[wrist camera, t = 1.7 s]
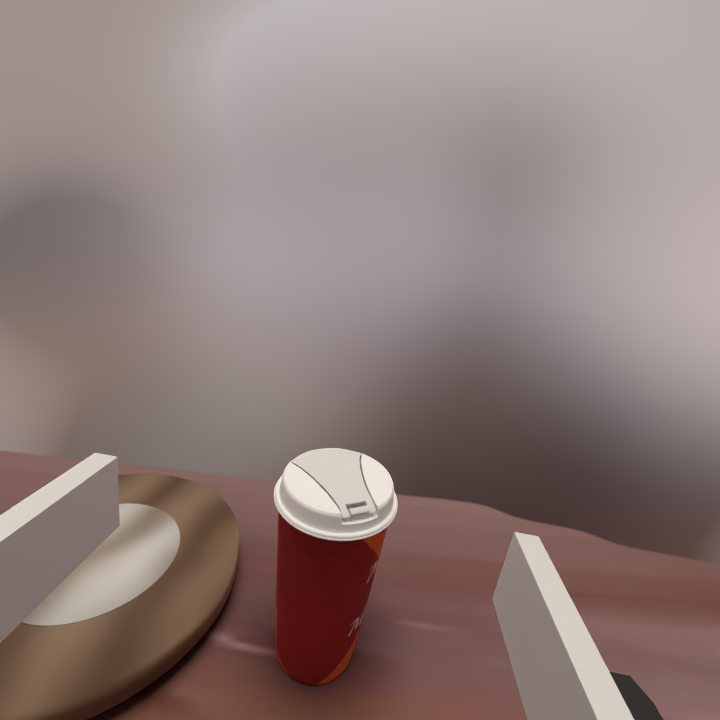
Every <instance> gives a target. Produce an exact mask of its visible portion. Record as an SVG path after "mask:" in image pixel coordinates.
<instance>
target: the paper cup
mask: <svg viewBox="0 0 720 720" xmlns="http://www.w3.org/2000/svg"><path fill="white" fill-rule="evenodd" d="M274 501H275V505H276V507H277V509H278V511H279V513H278V549H277V586H276V651H277V656H278V660H279V662H280V665H281V666H282V668H283V670H284V671H285V672H286V673H287V674H288V675H289V676H290V677H291V678H292V679H294V680H295V681H297V682H300V683H302V684H306V685H322V684H325V683H328V682H330V681H332V680H334V679H335V678H337V677H338V676H339V675H340V674H341V673H342V672H343V671H344V670H345V668H346V667H347V665H348V663H349V661H350V659H351V656H352V653H353V650H354V647H355V644H356V640H357V637H358V633H359V630H360V626H361V623H362V619H363V615H364V612H365V608H366V604H367V601H368V597H369V593H370V590H371V586H372V582H373V578H374V575H375V571H376V567H377V563H378V560H379V556H380V552H381V549H382V545H383V541H384V537H385V534H386V530H387V527H388V526H389V525H390V523H391V522H392V521H393V519H394V517H395V515H396V512H397V504H398V502H397V497H396V494H395V492H394V486H393V481H392V479H391V476H390V474H389V473H388V471H387V470H386V469H385V468H384V467H383V466H382V465H381V464H380V463H379V462H377V461H376V460H374V459H373V458H371V457H369V456H367V455H364V454H362V456H361V453H358V452H354V451H350V450H345V449H338V448H327V449H326V448H325V449H317V450H312V451H308V452H306V453H303V454H302V455H300V456H298V457H296V458H295V459H294V460H292V461H291V462H290V463H289V464H288V465H287V467H286V468H285V470H284V473H283V475H282V476H281V477H280V478H279V480H278V482H277V484H276V486H275V489H274Z"/></svg>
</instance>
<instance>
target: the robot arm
mask: <svg viewBox="0 0 720 720" xmlns="http://www.w3.org/2000/svg"><path fill="white" fill-rule="evenodd" d="M119 526H120V520H119V489H118V459H117V457H115V456H110V455H104V454H99V453H94V454H93V455H91V456H90V457H88V458H87V459H85V460H84V461H82V462H80V463H79V464H77V465H76V466H74V467H73V468H71V469H70V470H68V471H67V472H65V473H64V474H62V475H61V476H59V477H58V478H56V479H55V480H53V481H52V482H50V483H49V484H47V485H46V486H44V487H42V488H41V489H39V490H38V491H36V492H35V493H33V494H32V495H30V496H29V497H27V498H26V499H24V500H23V501H21V502H20V503H18V504H17V505H15V506H14V507H12V508H11V509H9V510H8V511H6V512H4V513H3V514H1V515H0V643H1V642H2V641H3V640H4V639H5V638H6V637H7V636H8V635H9V634H10V633H11V632H12V631H13V630H14V629H15V628H16V627H17V626H18V625H19V624H20V623H21V622H22V621H23V620H24V619H25V618H26V617H27V616H28V615H29V614H30V613H31V612H32V611H33V610H34V609H35V608H36V607H37V606H38V605H39V604H40V603H41V602H42V601H43V600H45V599H46V598H47V597H48V596H49V595H50V594H51V593H52V592H53V591H54V590H55V589H56V588H57V587H58V586H59V585H60V584H61V583H62V582H63V581H64V580H65V579H66V578H67V577H68V576H69V575H70V574H71V573H72V572H73V571H74V570H75V569H76V568H77V567H78V566H79V565H80V564H81V563H82V562H83V561H84V560H85V559H86V558H87V557H88V556H89V555H90V554H91V553H92V552H93V551H94V550H95V549H96V548H97V547H98V546H99V545H100V544H101V543H102V542H103V541H104V540H106V539H107V538H108V537H109V536H110V535H111V534H112V533H113V532H114V531H115V530H116V529H117V528H118V527H119ZM492 600H493V603H494V606H495V610H496V613H497V617H498V620H499V624H500V627H501V630H502V634H503V637H504V641H505V644H506V648H507V651H508V654H509V658H510V661H511V665H512V668H513V672H514V675H515V678H516V682H517V685H518V689H519V692H520V695H521V699H522V702H523V706H524V709H525V713H526V716H527V719H528V720H663V718H662V717H661V715H660V713H659V711H658V710H657V708H656V706H655V705H654V703H653V702H652V701H651V700H650V699H649V697H648V696H647V695H646V694H645V693H644V692H643V691H642V689H641V688H640V687H639V686H638V685H637V684H636V683H635V681H634V680H633V679H632V678H631V677H630V676H627V675H622V674H617V673H612V672H609V670H608V669H607V667H606V665H605V663H604V661H603V659H602V657H601V655H600V653H599V651H598V649H597V647H596V646H595V644H594V642H593V640H592V638H591V636H590V634H589V632H588V630H587V628H586V626H585V625H584V623H583V621H582V619H581V617H580V615H579V613H578V611H577V609H576V607H575V605H574V603H573V602H572V600H571V598H570V596H569V594H568V592H567V590H566V588H565V586H564V584H563V582H562V581H561V579H560V577H559V575H558V573H557V571H556V569H555V567H554V565H553V563H552V561H551V560H550V558H549V556H548V554H547V552H546V550H545V548H544V546H543V544H542V542H541V540H540V538H539V537H538V536H533V535H528V534H522V533H517V532H514V534H513V537H512V540H511V543H510V547H509V550H508V553H507V556H506V559H505V562H504V565H503V568H502V571H501V574H500V577H499V580H498V583H497V586H496V589H495V592H494V595H493V598H492Z"/></svg>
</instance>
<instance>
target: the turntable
mask: <svg viewBox="0 0 720 720" xmlns="http://www.w3.org/2000/svg"><path fill="white" fill-rule="evenodd" d="M118 489H119V520H120V526H119V527H118V528H117V529H116V530H115V531H114V532H113V533H112V534H111V535H110V536H109V537H108V538H107V539H106V540H104V541H103V542H102V543H101V544H100V545H99V546H98V547H97V548H96V549H95V550H94V551H93V552H92V553H91V554H90V555H89V556H88V557H87V558H86V559H85V560H84V561H83V562H82V563H81V564H80V565H79V566H78V567H77V568H76V569H75V570H74V571H73V572H72V573H71V574H70V575H69V576H68V577H67V578H66V579H65V580H64V581H63V582H62V583H61V584H60V585H59V586H58V587H57V588H56V589H55V590H54V591H53V592H52V593H51V594H50V595H49V596H48V597H47V598H46V599H45V600H43V601H42V602H41V603H40V604H39V605H38V606H37V607H36V608H35V609H34V610H33V611H32V612H31V613H30V614H29V615H28V616H27V617H26V618H25V619H24V620H23V621H22V622H21V623H20V624H19V625H18V626H17V627H16V628H15V629H14V630H13V631H12V632H11V633H10V634H9V635H8V636H7V637H6V638H5V639H4V640H3V641H2V642H1V643H0V720H87V719H89V718H91V717H94V716H96V715H98V714H100V713H102V712H104V711H106V710H108V709H110V708H112V707H114V706H115V705H117V704H119V703H121V702H123V701H125V700H126V699H128V698H130V697H131V696H133V695H134V694H136V693H137V692H139V691H140V690H142V689H144V688H145V687H147V686H148V685H150V684H151V683H152V682H154V681H155V680H156V679H158V678H159V677H160V676H161V675H163V674H164V673H165V672H167V671H168V670H169V669H170V668H172V667H173V666H174V665H175V664H176V663H177V662H178V661H179V660H180V659H181V658H183V657H184V656H185V655H186V654H187V653H188V652H189V651H190V650H191V649H192V648H193V647H194V646H195V644H196V643H197V642H198V641H199V640H200V639H201V638H202V637H203V635H204V634H205V633H206V632H207V631H208V629H209V628H210V626H211V625H212V624H213V622H214V621H215V619H216V618H217V617H218V615H219V613H220V612H221V610H222V608H223V606H224V604H225V603H226V601H227V599H228V597H229V594H230V592H231V589H232V587H233V584H234V580H235V576H236V572H237V563H238V548H239V532H238V526H237V522H236V519H235V516H234V514H233V512H232V511H231V509H230V507H229V506H228V505H227V504H226V502H225V501H224V500H223V499H222V498H221V497H220V496H218V495H217V494H216V493H215V492H213V491H212V490H210V489H208V488H207V487H205V486H202V485H200V484H198V483H196V482H193V481H190V480H187V479H182V478H178V477H173V476H166V475H154V474H131V475H119V476H118ZM11 508H12V507H11ZM11 508H9V509H11ZM9 509H7V510H5V511H4V512H6V511H8V510H9ZM4 512H2V513H0V515H1V514H3V513H4Z"/></svg>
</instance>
